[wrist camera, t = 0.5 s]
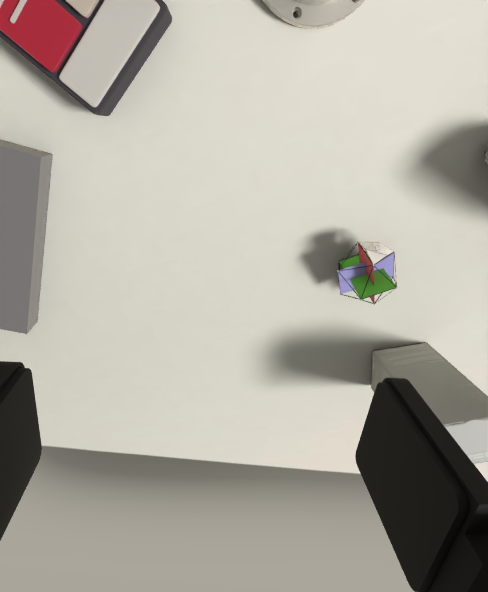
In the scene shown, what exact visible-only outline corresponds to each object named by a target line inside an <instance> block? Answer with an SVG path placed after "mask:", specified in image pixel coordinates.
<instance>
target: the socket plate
mask: <svg viewBox="0 0 488 592" xmlns="http://www.w3.org/2000/svg"><path fill="white" fill-rule="evenodd" d="M51 165H52V154H50V153H46V152H43V151H39V150H36V149H32V148H28V147H25V146H21V145H18V144H14V143H11V142H7V141H3V140H0V329H4V330H9V331H14V332H19V333H25V334H27V333H28V332H29V331H30V330H31V328H32V327H33V326H34V325H35V324H36V322H37V320H38V309H39V297H40V286H41V275H42V264H43V253H44V242H45V231H46V220H47V209H48V198H49V187H50V176H51Z"/></svg>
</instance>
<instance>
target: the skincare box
mask: <svg viewBox="0 0 488 592" xmlns="http://www.w3.org/2000/svg"><path fill="white" fill-rule="evenodd" d="M385 378H405V379H408V380H409V381H410V383H411V384H412V385H413V387H414V388H415V389H416V390H417V392H418V393H419V394H420V396H421V397H422V398H423V399H424V401H425V402H426V403H427V405H428V406H429V407H430V408H431V410H432V411H433V412H434V414H435V415H436V416H437V418H438V419H439V420H440V421H441V423H442V424H443V425H444V427H445V428H446V429H447V430H448V432H449V433H450V434H451V436H452V437H453V438H454V439H455V441H456V442H457V443H458V445H459V446H460V447H461V448H462V450H463V451H464V452H465V454H466V455H467V456H468V458H469V459H470V460H471V461H472V463H473V464H476V463H482V462H488V396H487V395H486V394H485V393H483V392H482V391H481V390H480V389H479V388H478V387H476V386H475V385H474V384H473V383H472V382H471V381H470V380H469V379H467V378H466V377H465V376H464V375H463V374H462V373H461V372H460V371H458V370H457V369H456V368H455V367H454V366H453V365H452V364H450V363H449V362H448V361H447V360H446V359H445V358H444V357H443V356H441V355H440V354H439V353H438V352H437V351H436V350H435V349H433V348H432V347H431V346H430V345H429V344H428V343H422V344H416V345H409V346H403V347H396V348H390V349H384V350H377V351H373V355H372V382H371V388H372V390H373V391H374V392H375V389H376V386H377V384H378V383H380V382H382V381H383V380H384V379H385Z"/></svg>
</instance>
